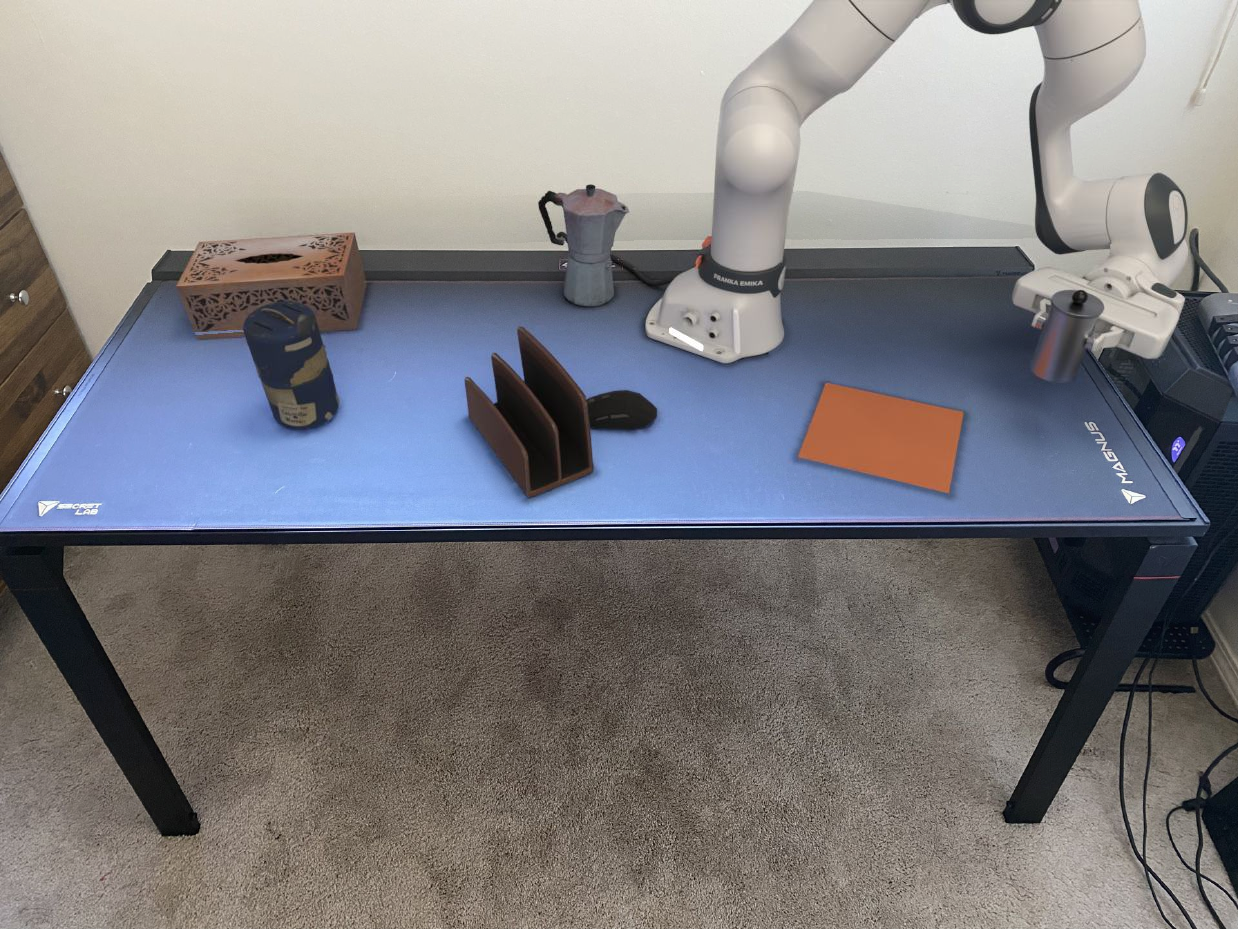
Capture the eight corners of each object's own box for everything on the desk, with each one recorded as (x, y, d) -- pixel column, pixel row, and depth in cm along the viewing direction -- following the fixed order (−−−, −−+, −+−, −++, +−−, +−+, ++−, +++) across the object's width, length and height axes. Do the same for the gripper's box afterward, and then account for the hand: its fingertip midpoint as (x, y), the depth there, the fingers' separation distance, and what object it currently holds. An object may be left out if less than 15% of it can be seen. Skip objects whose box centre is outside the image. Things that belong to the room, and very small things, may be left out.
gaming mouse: (557, 403, 132) (555, 381, 129) (657, 404, 131) (657, 382, 129) (553, 430, 127) (551, 408, 125) (656, 432, 127) (657, 410, 124)
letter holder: (529, 396, 133) (521, 316, 124) (594, 473, 120) (591, 390, 111) (468, 418, 130) (455, 337, 120) (528, 500, 117) (518, 416, 107)
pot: (1026, 378, 119) (1054, 298, 110) (1029, 352, 123) (1056, 274, 115) (1077, 387, 117) (1109, 307, 109) (1078, 361, 121) (1109, 282, 113)
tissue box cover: (366, 284, 158) (354, 232, 151) (357, 329, 147) (343, 275, 141) (218, 293, 156) (199, 241, 150) (197, 339, 146) (176, 286, 139)
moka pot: (625, 313, 150) (623, 201, 136) (536, 304, 152) (526, 194, 139) (635, 284, 157) (635, 175, 143) (550, 276, 159) (542, 168, 146)
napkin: (797, 458, 122) (797, 456, 122) (825, 384, 134) (825, 382, 134) (948, 495, 116) (949, 492, 116) (963, 414, 129) (963, 411, 128)
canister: (320, 386, 136) (289, 283, 124) (354, 414, 131) (325, 308, 119) (263, 415, 131) (225, 309, 119) (295, 444, 126) (259, 337, 114)
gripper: (1047, 247, 126) (996, 283, 119) (1198, 302, 114) (1152, 345, 108) (1034, 286, 130) (984, 323, 123) (1179, 342, 119) (1133, 387, 112)
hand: (1064, 334), depth 115 cm, fingers closed on pot, 6 cm apart
